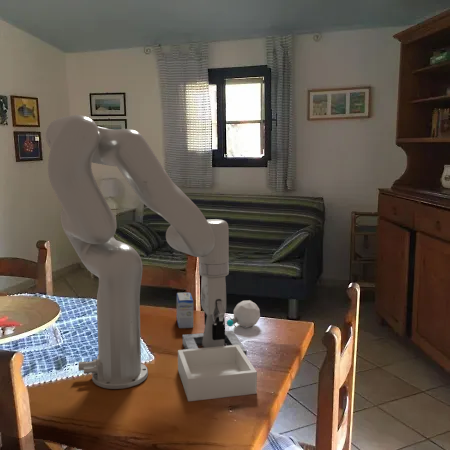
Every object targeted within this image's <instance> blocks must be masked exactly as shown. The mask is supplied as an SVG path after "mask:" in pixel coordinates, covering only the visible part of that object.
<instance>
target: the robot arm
mask: <svg viewBox="0 0 450 450" xmlns="http://www.w3.org/2000/svg"><path fill="white" fill-rule="evenodd" d="M45 141H46V144H47V146H48V147H49V149H50V150H49V156H48V161H47V173H48V174H47V175H48V179H49V182H50V183H49V184H50V185H51V188H52V190H53V192H54V194H55V195H56V196H55V197H56V198H57V199H58V202H59V203H60V206H61V207H62V210H61V212H60V223H61V227H62V229H63V232H64V234H65V235H66V237H67V239H68V241H69V242H70V244H71V246H72V247H73V249H74V250H75V253H76V254H77V256H78V257H79V259H80V260H81V263H82V264H83V265H84V266H85V269H86V270H88V272H90V273H91V274H93V275H94V276H95V277H97V278H98V288H97V295H96V319H97V322H96V323H97V344H98V345H97V349H98V350H97V352H98V354H97V356H96V357H97V358H96V359H92V361H79V362H78V371H83V375H88V374H92V375H91V377H92V379H91V380H92V382H93V383H94V384H95V385H96V386H98V387H101V388H102V389H103V388H104V389H108V390H109V389H110V390H120V389H121V390H122V389H127V388H132V387H134V386H138V385H139V384H141V383H143V382H144V381H145V380H146V379H147V378H148V375H149V370H148V369H149V368H148V367H147V366H146V365H145V364H144V363H142V357H141V356H142V351H141V348H142V347H141V346H142V345H141V310H140V309H141V308H140V305H141V302H140V299H141V298H140V296H141V295H140V294H141V284H142V277H143V269H144V268H143V262H142V258H141V256H140V254H139V253H138V251H137V250H136V249H135V248H134V247H133V246H131V245H130V244H127V243H125V242H122V241H120V240H117V239H116V238H115V237H114V235H115V234H116V231H117V219H116V216H115V214H114V212H113V210H112V209H111V207H110V206H109V204H108V201H107V199H106V198H105V196H104V195H103V193H102V191H101V188H100V187H99V185H98V183H97V180H96V179H95V176H94V173H93V169H92V163H93V164H97V165H102V166H104V165H105V166H110V167H117V169H118V170H119V172H120V173H121V175H122V176H123V177H124V179H125V180H126V182H127V183H128V184H129V186H130V187H131V189H132V191H133V192H134V194H135V195H136V196H137V198H138V199H139V201H140V203H142V204H143V205H145V207H147V208H148V209H149V210H151V211H153V212H154V213H156V214H157V215H159V216H160V217H162V218H163V219H164V220H165V221H166V222H168V224H170V225H169V226H168V228H167V229H166V232H165V239H166V242H167V244H168V245H169V246H170V247H171V248H172V249H174V250H175V251H178V252H181V253H184V254H186V255H190V256H192V257H195V258H198V259H199V260H198V271H199V272H198V273H199V276H200V277H201V280H200V281H201V282H200V283H201V284H200V305H201V308H202V310H203V312H204V315H203V316H204V325H205V324H206V318H207V315H208V316H210V315H212V318H213V324H212V339H213V340H221V339H225V331H226V320H225V314H226V312H227V285H226V284H227V283H226V276H228V275H229V273H230V272H229V271H230V267H229V264H230V263H229V260H230V259H229V257H230V256H229V255H230V254H229V253H230V252H229V248H230V247H229V246H230V245H229V244H230V243H229V242H230V241H229V240H230V239H229V235H230V234H229V229H230V228H229V224H228V222H227V221H226V220H223V219H217V218H215V219H211V218H210V219H206V216H205V215H204V214H203V212H202V211H201V209H200V208H199V207H198V205H196V204H195V203H194V201H192V200H191V199H190V197H188V195H186V194H185V192H184V191H182V190H181V188H180V187H179V186H177V184H176V183H174V181H173V180H172V179H171V177H170V176H169V174H168V173H167V171H166V170H165V168H164V167H163V165H162V163H161V162H160V160H159V159H158V157H157V156H156V154H155V152H154V151H153V150H152V148H151V146H150V145H149V143H148V141H147V140H146V138H145V137H144V136H143V135H142V134H141V133H140V132H138V131H137V130H134V129H132V128H121V129H120V128H118V129H113V128H107V127H101V126H98V125H97V123H96V122H95V121H94V120H93V119H92V118H90V117H88V116H85V115H83V114H73V115H68V116H61V117H58V118H55V119H54V120H52V121H51V122H50V123H49V125H48V126H47V128H46V131H45ZM215 311H218V312H215ZM215 316H218V317H217V318H215Z"/></svg>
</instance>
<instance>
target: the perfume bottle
mask: <svg viewBox="0 0 450 450" xmlns="http://www.w3.org/2000/svg"><path fill="white" fill-rule="evenodd" d="M260 319H261V313H260V308H259V306H258V305H257V304H256V303H255V302H253V301H252V300H250V299H249V300H242V301H240V302H238V303H237V304H236V306H235V307H234V309H233V318H232V317H229V319H227V320H226V324H227V325H226V326H228V327H233V326H234V328H236V329H237V325H239V326H241V327H242V328H252V327H253V326H255V325H256V324H257V323H258V321H259V320H260ZM236 323H237V325H235V324H236Z"/></svg>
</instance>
